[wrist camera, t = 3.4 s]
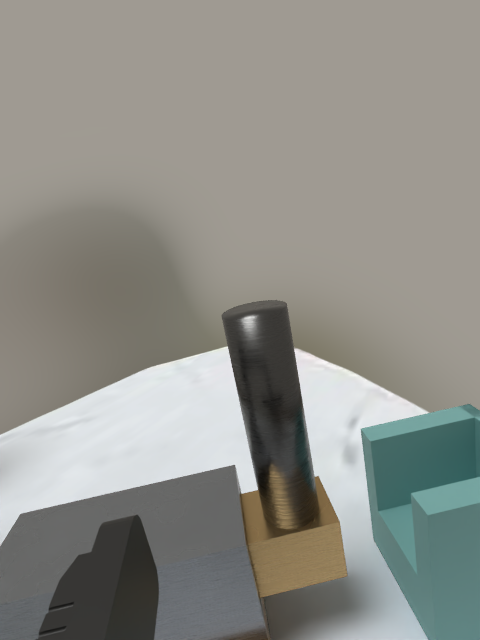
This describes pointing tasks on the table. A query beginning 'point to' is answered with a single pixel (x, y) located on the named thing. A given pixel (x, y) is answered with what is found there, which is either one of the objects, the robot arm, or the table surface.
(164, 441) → the table surface
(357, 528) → the table surface
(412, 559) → the socket
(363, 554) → the table surface
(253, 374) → the board with post
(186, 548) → the sleeve
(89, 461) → the table surface
